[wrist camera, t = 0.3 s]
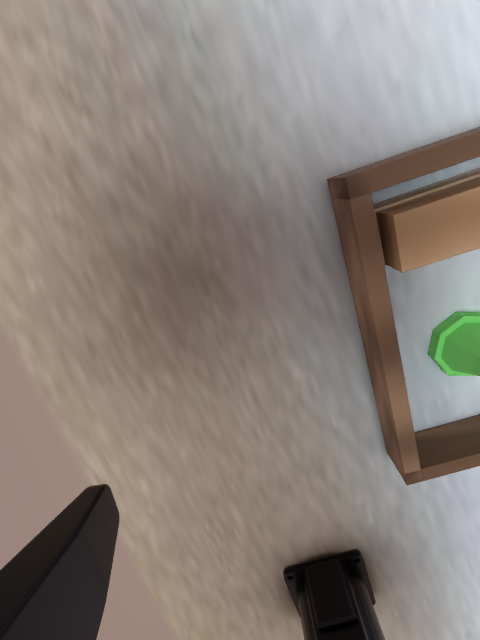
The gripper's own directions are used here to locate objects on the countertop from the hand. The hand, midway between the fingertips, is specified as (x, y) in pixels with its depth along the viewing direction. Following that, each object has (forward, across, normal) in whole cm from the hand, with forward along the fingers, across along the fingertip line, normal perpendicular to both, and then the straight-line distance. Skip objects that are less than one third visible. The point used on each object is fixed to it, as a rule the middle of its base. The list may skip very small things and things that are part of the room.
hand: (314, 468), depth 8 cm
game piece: (+14, -12, +5) cm, 20 cm away
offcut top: (+12, -11, -3) cm, 17 cm away
